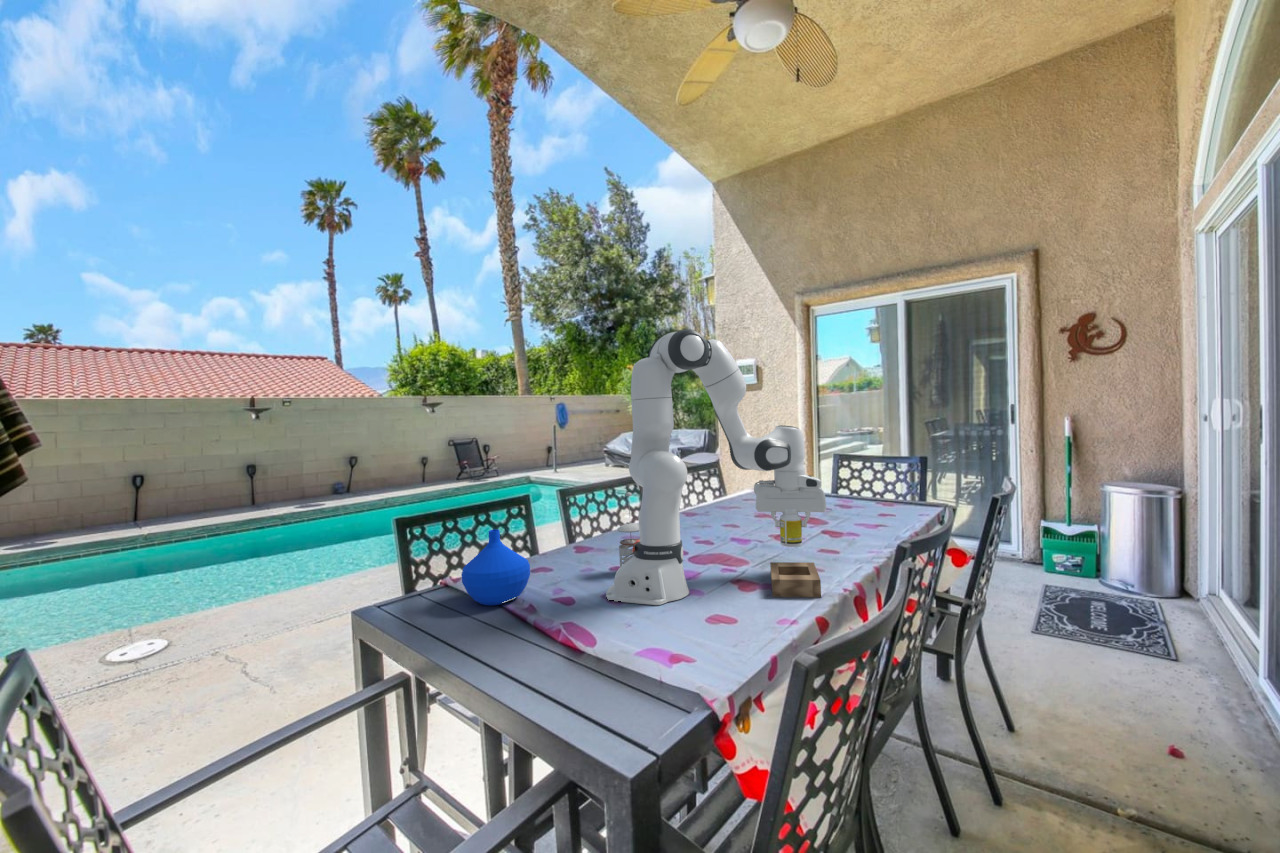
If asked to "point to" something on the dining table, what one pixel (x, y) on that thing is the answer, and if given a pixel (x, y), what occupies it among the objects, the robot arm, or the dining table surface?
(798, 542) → the pill bottle
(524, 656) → the dining table surface
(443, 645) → the dining table surface
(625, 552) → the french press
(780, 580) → the box
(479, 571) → the vase
